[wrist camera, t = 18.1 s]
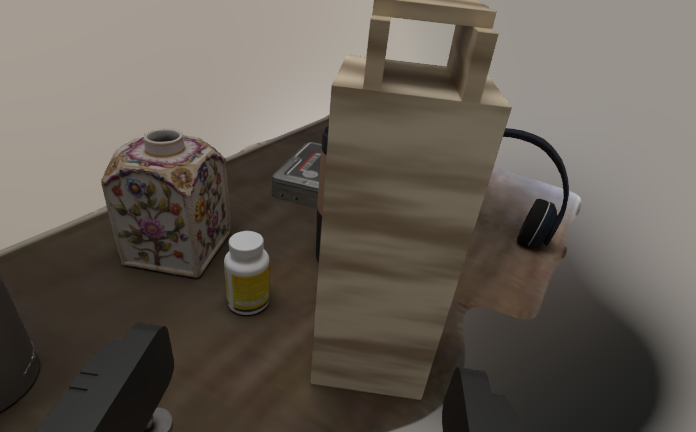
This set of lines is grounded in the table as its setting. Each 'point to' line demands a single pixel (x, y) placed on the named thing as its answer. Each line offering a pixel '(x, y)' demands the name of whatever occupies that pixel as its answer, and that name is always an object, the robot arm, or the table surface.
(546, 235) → the headphones
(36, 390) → the table surface
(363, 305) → the socket tower
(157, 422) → the lighter
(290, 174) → the hard drive
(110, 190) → the decorative jar
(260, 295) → the supplement bottle
